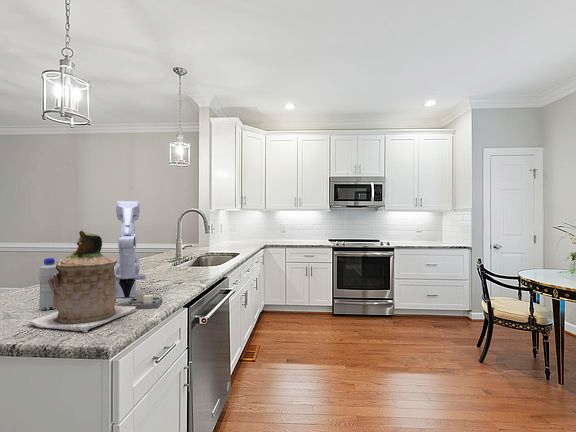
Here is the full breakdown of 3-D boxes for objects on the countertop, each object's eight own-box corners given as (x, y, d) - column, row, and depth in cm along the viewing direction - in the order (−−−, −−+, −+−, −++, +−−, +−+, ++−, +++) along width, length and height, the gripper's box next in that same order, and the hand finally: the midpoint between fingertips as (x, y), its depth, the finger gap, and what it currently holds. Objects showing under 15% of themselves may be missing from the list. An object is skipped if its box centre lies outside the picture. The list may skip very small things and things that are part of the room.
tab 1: (136, 302, 130) (136, 293, 130) (138, 300, 133) (138, 292, 133) (144, 301, 131) (144, 293, 131) (145, 300, 133) (145, 291, 133)
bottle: (36, 312, 119) (36, 259, 119) (40, 307, 125) (40, 257, 125) (58, 309, 123) (58, 258, 122) (61, 305, 128) (61, 256, 128)
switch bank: (125, 309, 123) (125, 304, 123) (132, 302, 133) (132, 297, 133) (157, 308, 126) (157, 302, 126) (162, 301, 136) (162, 296, 135)
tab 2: (143, 305, 126) (143, 296, 126) (144, 303, 128) (145, 295, 128) (151, 305, 126) (151, 296, 126) (152, 303, 129) (152, 294, 129)
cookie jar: (138, 311, 122) (139, 229, 122) (85, 334, 98) (85, 232, 98) (86, 306, 128) (86, 227, 128) (23, 327, 104) (23, 230, 104)
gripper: (104, 266, 125) (104, 300, 125) (143, 265, 128) (143, 299, 128) (110, 263, 132) (110, 296, 132) (147, 263, 135) (147, 294, 135)
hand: (127, 297), depth 131 cm, fingers closed
